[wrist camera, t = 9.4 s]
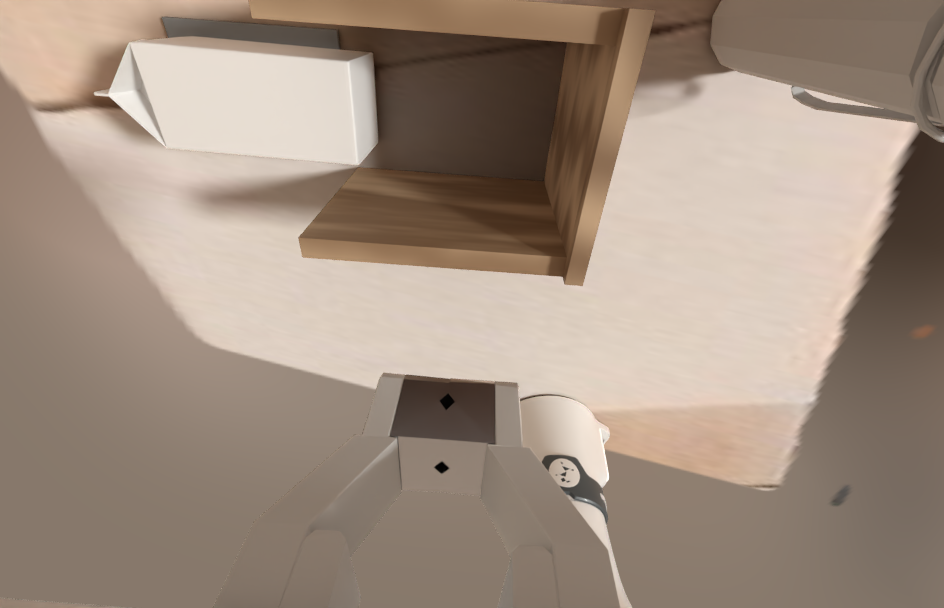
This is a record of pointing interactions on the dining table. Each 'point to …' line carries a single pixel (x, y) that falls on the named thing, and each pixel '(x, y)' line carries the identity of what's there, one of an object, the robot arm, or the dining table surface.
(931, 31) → the water bottle
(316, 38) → the mat
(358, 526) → the robot arm
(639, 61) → the shelf bay
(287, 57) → the milk carton
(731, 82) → the dining table surface
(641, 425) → the dining table surface
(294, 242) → the dining table surface
